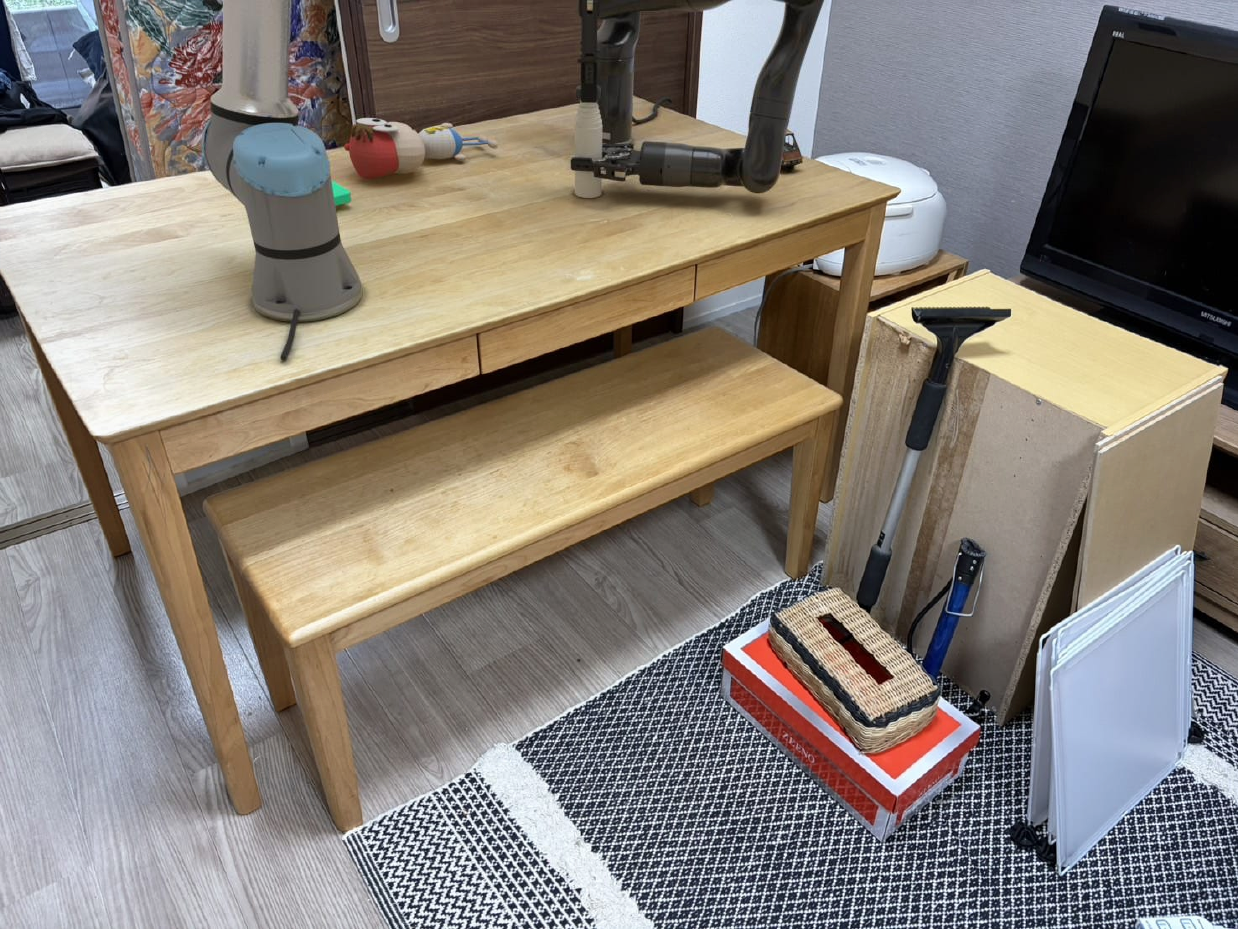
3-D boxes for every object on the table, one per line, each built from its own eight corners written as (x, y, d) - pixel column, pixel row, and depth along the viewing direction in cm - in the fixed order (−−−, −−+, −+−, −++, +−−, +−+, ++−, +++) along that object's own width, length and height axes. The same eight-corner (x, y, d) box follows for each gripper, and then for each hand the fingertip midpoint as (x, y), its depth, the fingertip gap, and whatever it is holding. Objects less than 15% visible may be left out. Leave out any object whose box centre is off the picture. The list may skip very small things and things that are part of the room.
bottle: (582, 199, 168) (583, 94, 157) (570, 191, 172) (569, 87, 161) (606, 195, 170) (607, 91, 159) (593, 186, 174) (594, 84, 163)
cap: (583, 102, 158) (583, 91, 157) (571, 95, 161) (571, 85, 160) (605, 99, 160) (605, 88, 159) (593, 92, 163) (593, 82, 162)
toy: (513, 124, 177) (360, 128, 162) (513, 178, 182) (363, 187, 167) (473, 109, 190) (327, 111, 175) (473, 159, 195) (331, 166, 180)
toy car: (763, 152, 192) (768, 117, 188) (807, 168, 184) (812, 133, 180) (742, 157, 188) (745, 123, 184) (785, 174, 181) (790, 139, 177)
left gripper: (566, -64, 154) (567, 84, 168) (565, -47, 140) (566, 112, 154) (611, -63, 154) (608, 84, 168) (615, -46, 140) (611, 112, 154)
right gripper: (671, 131, 170) (579, 125, 171) (665, 156, 158) (566, 150, 160) (668, 171, 174) (579, 165, 175) (662, 199, 163) (567, 192, 164)
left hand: (588, 97), depth 161 cm, fingers closed on cap, 4 cm apart
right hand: (574, 158), depth 168 cm, fingers closed on bottle, 5 cm apart
